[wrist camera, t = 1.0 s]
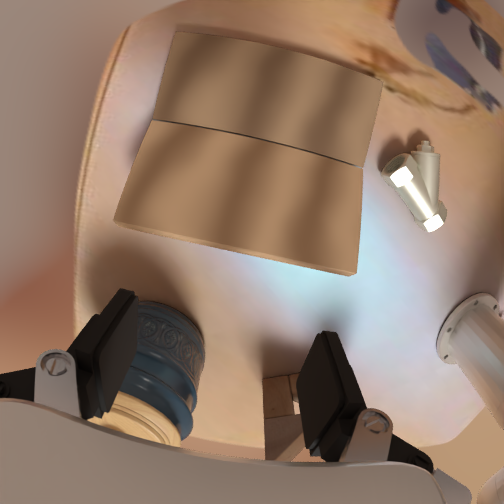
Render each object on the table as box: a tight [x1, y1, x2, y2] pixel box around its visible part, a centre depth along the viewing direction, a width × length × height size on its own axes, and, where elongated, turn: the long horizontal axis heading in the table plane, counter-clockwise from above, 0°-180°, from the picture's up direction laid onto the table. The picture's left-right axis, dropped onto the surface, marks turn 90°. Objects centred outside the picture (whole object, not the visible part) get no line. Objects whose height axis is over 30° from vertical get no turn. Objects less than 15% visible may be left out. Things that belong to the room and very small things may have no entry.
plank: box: [113, 120, 363, 276], centre depth 25 cm, size 20×10×2 cm
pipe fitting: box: [381, 141, 447, 232], centre depth 27 cm, size 8×4×7 cm
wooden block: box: [262, 373, 305, 462], centre depth 29 cm, size 4×11×18 cm, turn 102°
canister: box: [88, 301, 205, 447], centre depth 27 cm, size 13×13×18 cm
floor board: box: [153, 32, 383, 167], centre depth 24 cm, size 20×9×2 cm, turn 77°
